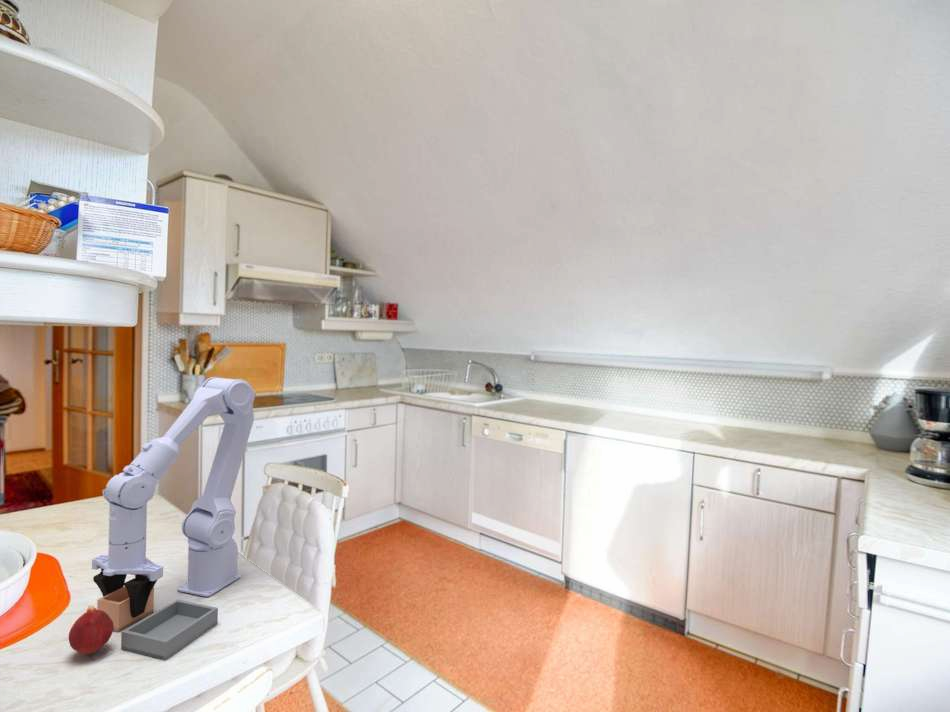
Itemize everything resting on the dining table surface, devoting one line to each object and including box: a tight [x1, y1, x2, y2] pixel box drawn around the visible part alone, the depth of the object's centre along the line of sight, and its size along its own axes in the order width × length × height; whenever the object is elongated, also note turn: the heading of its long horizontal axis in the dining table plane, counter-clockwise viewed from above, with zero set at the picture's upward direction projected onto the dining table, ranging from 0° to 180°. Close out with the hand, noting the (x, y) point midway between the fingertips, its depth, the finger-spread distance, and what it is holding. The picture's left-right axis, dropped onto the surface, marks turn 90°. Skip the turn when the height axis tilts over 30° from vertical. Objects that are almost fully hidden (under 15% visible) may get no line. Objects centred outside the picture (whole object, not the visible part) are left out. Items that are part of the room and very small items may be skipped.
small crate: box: [96, 586, 155, 633], centre depth 93 cm, size 7×5×5 cm
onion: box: [67, 605, 114, 656], centre depth 82 cm, size 6×6×8 cm
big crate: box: [120, 599, 219, 661], centre depth 88 cm, size 11×9×3 cm
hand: (126, 611), depth 93 cm, fingers closed on small crate, 5 cm apart
